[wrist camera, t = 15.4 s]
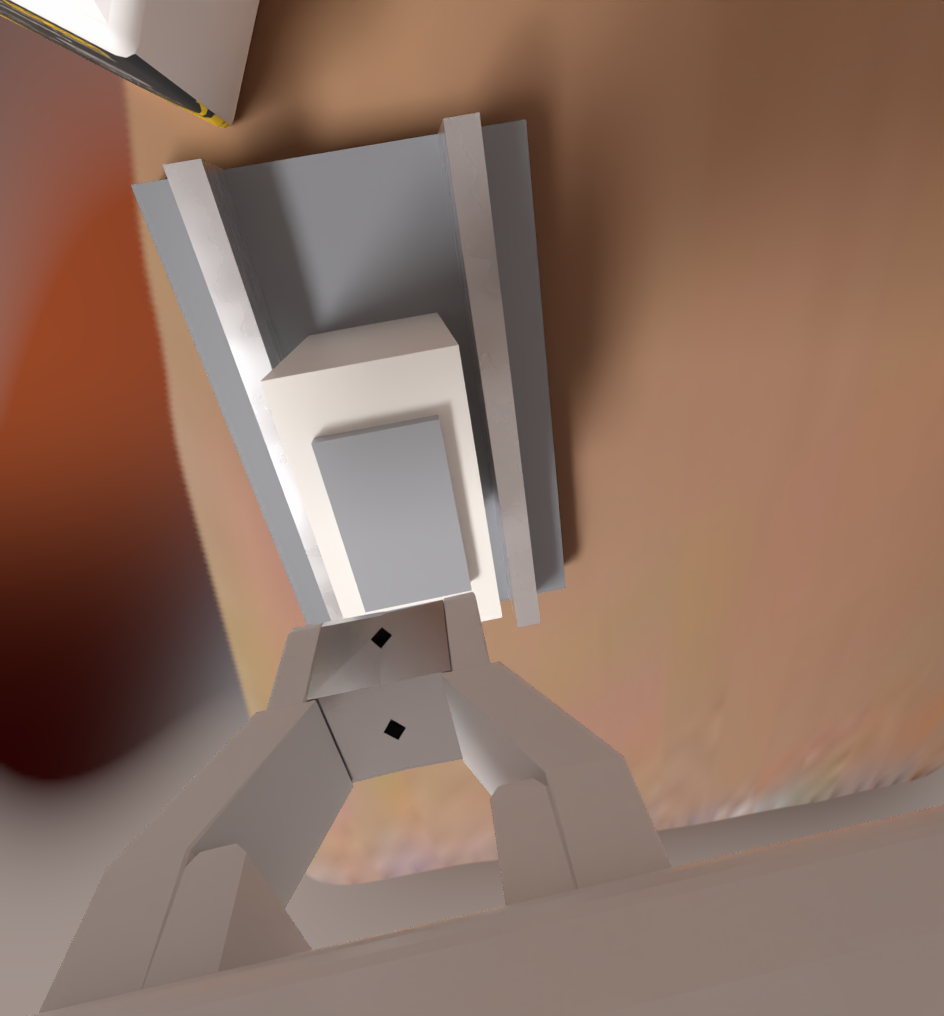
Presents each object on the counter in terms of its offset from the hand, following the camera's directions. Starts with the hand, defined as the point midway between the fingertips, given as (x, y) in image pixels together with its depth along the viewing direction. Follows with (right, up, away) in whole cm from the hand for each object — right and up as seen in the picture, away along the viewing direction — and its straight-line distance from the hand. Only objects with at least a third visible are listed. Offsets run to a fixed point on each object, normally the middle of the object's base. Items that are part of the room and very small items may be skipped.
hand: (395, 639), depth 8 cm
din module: (-2, +5, +11) cm, 12 cm away
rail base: (-2, +6, +12) cm, 14 cm away
